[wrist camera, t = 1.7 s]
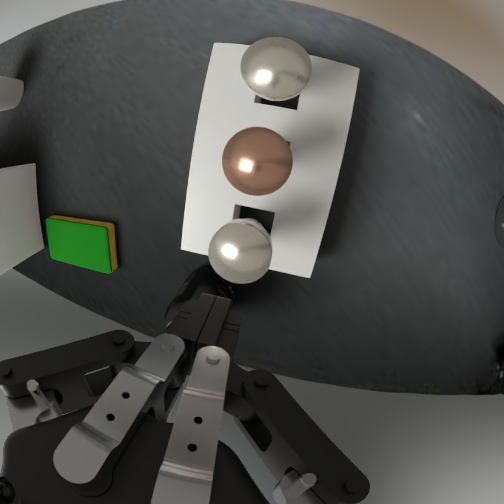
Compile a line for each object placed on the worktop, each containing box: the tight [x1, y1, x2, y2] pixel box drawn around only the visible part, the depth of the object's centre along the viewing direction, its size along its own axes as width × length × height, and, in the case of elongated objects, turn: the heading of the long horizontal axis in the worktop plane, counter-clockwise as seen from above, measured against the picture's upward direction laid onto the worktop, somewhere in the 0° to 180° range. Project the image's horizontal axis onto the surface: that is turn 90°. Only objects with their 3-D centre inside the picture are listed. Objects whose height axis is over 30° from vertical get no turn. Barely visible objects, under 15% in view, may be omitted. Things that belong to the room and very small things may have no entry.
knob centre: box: [222, 127, 293, 196], centre depth 20 cm, size 5×5×6 cm
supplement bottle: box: [163, 266, 236, 334], centre depth 30 cm, size 7×7×12 cm
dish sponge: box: [46, 215, 118, 274], centre depth 35 cm, size 7×14×2 cm, turn 83°
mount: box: [181, 43, 360, 278], centre depth 26 cm, size 14×22×5 cm, turn 170°
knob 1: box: [208, 218, 273, 284], centre depth 23 cm, size 5×5×6 cm
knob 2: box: [240, 37, 312, 101], centre depth 17 cm, size 5×5×6 cm
